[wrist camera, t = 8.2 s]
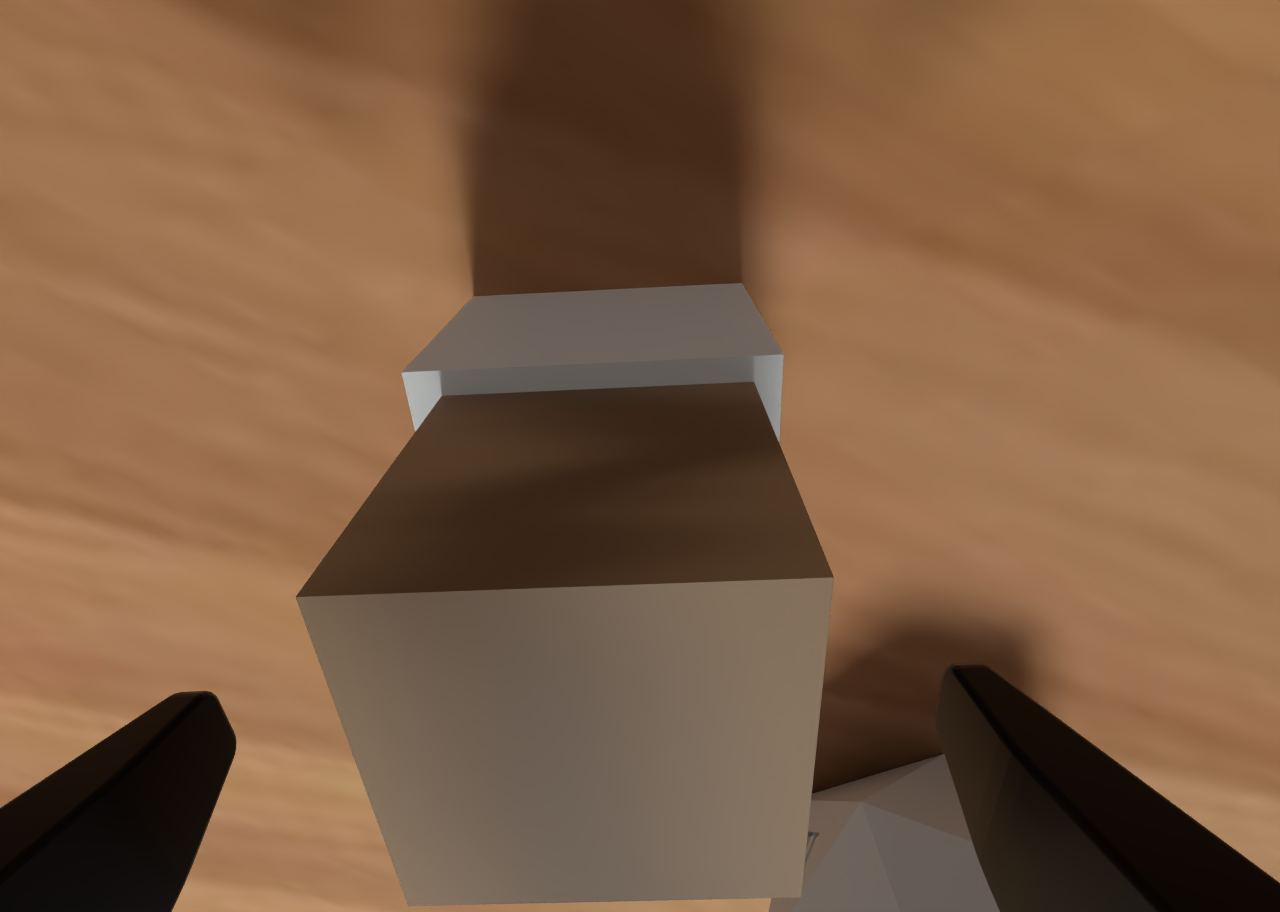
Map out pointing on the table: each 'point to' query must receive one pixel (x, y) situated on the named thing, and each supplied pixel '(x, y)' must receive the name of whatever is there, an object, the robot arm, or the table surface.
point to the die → (891, 847)
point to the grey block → (599, 344)
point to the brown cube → (582, 649)
